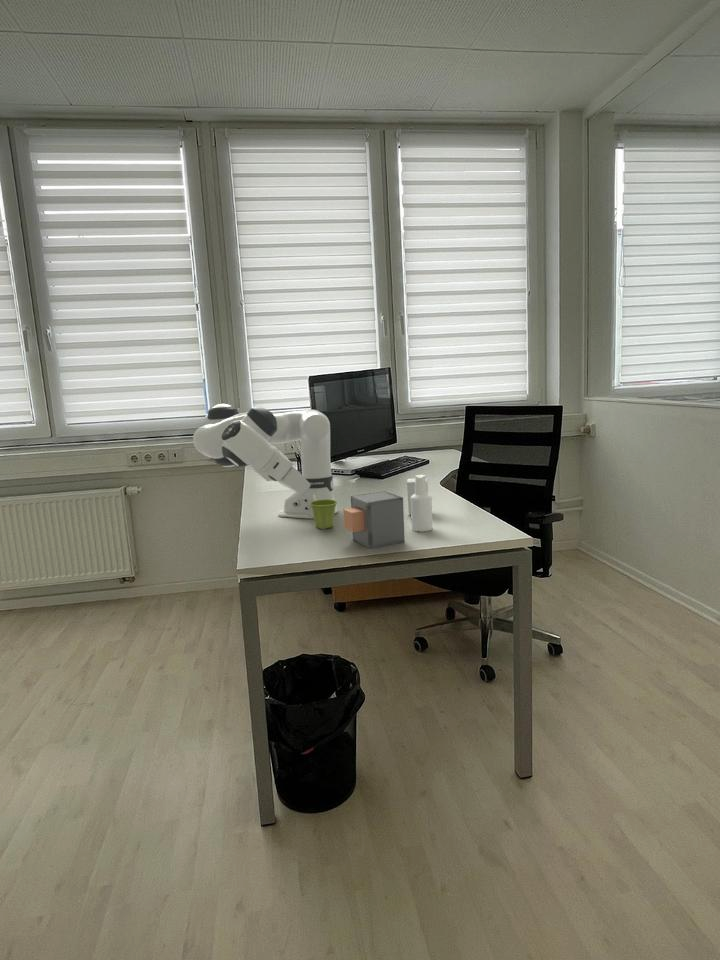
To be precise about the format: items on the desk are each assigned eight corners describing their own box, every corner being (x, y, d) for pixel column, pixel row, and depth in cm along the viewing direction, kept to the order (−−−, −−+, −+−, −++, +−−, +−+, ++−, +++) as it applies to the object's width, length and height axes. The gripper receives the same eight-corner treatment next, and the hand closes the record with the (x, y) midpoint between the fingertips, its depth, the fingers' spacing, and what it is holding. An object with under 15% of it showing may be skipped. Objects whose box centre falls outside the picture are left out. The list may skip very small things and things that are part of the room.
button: (352, 532, 178) (351, 512, 177) (344, 528, 183) (343, 509, 182) (367, 529, 180) (366, 510, 179) (359, 525, 185) (358, 506, 184)
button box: (369, 548, 178) (367, 502, 175) (353, 539, 189) (350, 496, 186) (404, 542, 183) (402, 497, 180) (386, 533, 193) (384, 491, 191)
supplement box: (428, 510, 222) (427, 477, 219) (428, 515, 214) (427, 481, 212) (408, 511, 222) (407, 478, 220) (408, 516, 215) (406, 481, 213)
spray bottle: (433, 526, 199) (431, 473, 196) (431, 532, 192) (429, 477, 189) (413, 526, 200) (411, 474, 197) (410, 531, 194) (408, 477, 191)
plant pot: (340, 523, 210) (339, 499, 208) (335, 530, 201) (333, 505, 199) (315, 523, 211) (313, 499, 210) (308, 530, 202) (306, 505, 201)
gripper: (255, 469, 176) (289, 497, 182) (276, 479, 158) (313, 509, 164) (269, 453, 177) (302, 481, 183) (291, 460, 159) (327, 492, 165)
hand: (307, 495), depth 173 cm, fingers closed
